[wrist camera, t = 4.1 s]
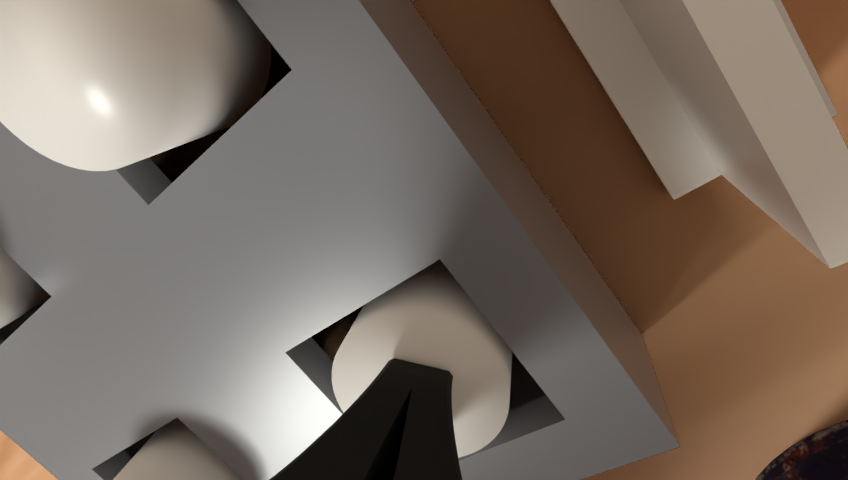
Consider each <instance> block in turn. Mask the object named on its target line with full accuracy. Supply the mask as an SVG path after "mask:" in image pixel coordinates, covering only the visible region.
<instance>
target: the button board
mask: <svg viewBox="0 0 848 480" xmlns="http://www.w3.org/2000/svg"><path fill="white" fill-rule="evenodd" d="M237 1H238V2H239V3H240V4H241V6H242V7H243V8H244V10H245V11H246V12H247V13H248V15H249V16H250V17H251V18H252V20H253V21H254V22H255V24H256V25H257V26H258V27H259V29H260V30H261V31H262V33H263V34H264V35H265V36H266V38H267V39H268V40H269V41H270V43H271V44H272V45H273V47H274V48H275V49H276V50H277V52H278V53H279V54H280V56H281V57H282V58H283V59H284V61H285V62H286V63H287V64H288V66H289V67H290V68H291V71H290V72H289V73H288V74H287V75H286V76H285V77H284V78H283V79H282V80H281V81H280V82H279V83H277V84H276V85H275V86H274V87H273V88H272V89H271V90H270V91H269V92H268V93H267V94H266V95H265V96H264V97H263V98H262V99H260V100H259V101H258V102H257V103H256V104H255V105H254V106H253V107H252V108H251V109H250V110H249V111H248V112H247V113H246V114H245V115H244V116H242V117H241V118H240V119H239V120H238V121H237V122H236V123H235V124H234V125H233V126H232V127H231V128H230V129H229V130H228V131H227V132H226V133H224V134H223V135H222V136H221V137H220V138H219V139H218V140H217V141H216V142H215V143H214V144H213V145H212V146H211V147H210V148H209V149H207V150H206V151H205V152H204V153H203V154H202V155H201V156H200V157H199V158H198V159H197V160H196V161H195V162H194V163H193V164H192V165H191V166H189V167H188V168H187V169H186V170H185V171H184V172H183V173H182V174H181V175H180V176H179V177H178V178H177V179H176V180H175V181H174V182H173V183H172V182H171V181H170V180H169V179H168V178H167V177H166V176H165V175H164V174H163V172H162V171H161V170H160V169H159V168H158V167H157V166H156V165H155V164H154V162H153V161H152V160H151V159H150V158H149V157H148V158H146V159H143V160H141V161H138V162H135V163H133V164H130V165H127V166H124V167H122V168H119V169H114V170H109V171H88V170H80V169H76V168H73V167H69V166H66V165H63V164H61V163H58V162H56V161H53V160H51V159H49V158H47V157H46V156H44V155H42V154H40V153H38V152H37V151H35V150H34V149H32V148H31V147H29V146H28V145H26V144H25V143H24V142H23V141H21V140H20V139H19V138H18V137H16V136H15V135H14V134H13V133H12V132H11V131H10V130H9V129H7V128H6V127H5V126H4V125H3V124H2V123H1V122H0V247H1V248H2V249H3V250H4V251H5V252H6V253H7V254H8V255H9V256H10V257H11V258H12V259H13V260H14V261H15V262H16V263H17V264H18V265H19V266H20V267H21V268H22V269H23V270H25V271H26V272H27V273H28V274H29V275H30V276H31V277H32V278H33V279H34V280H35V281H36V282H37V283H38V284H39V285H40V286H41V287H42V288H43V289H44V290H45V291H46V292H47V293H48V294H49V295H51V296H52V297H51V298H50V299H48V300H47V301H46V302H44V303H42V304H41V305H39V306H37V307H36V308H34V309H32V310H31V311H29V312H27V313H26V314H24V315H22V316H21V317H19V318H17V319H15V320H14V321H12V322H10V323H9V324H7V325H5V326H4V327H2V328H0V430H1V431H2V432H3V433H5V434H6V435H7V436H8V437H9V438H10V439H12V440H13V441H14V442H15V443H16V444H17V445H19V446H20V447H21V448H22V449H23V450H24V451H26V452H27V453H28V454H29V455H30V456H31V457H33V458H34V459H35V460H36V461H37V462H38V463H40V464H41V465H42V466H43V467H44V468H45V469H47V470H48V471H49V472H50V473H51V474H52V475H54V476H55V477H56V478H57V479H58V480H113V479H114V478H115V477H116V476H117V474H118V473H119V472H120V471H121V470H122V469H123V468H124V467H125V466H126V464H127V463H128V462H129V461H130V460H131V459H132V458H133V457H134V456H135V454H136V453H137V452H138V451H139V450H140V449H141V448H142V447H143V445H144V444H145V443H146V442H147V441H148V440H149V439H150V438H151V437H152V435H153V434H154V433H155V432H156V431H157V430H158V429H159V428H161V427H162V426H164V425H166V424H167V423H169V422H171V421H172V420H174V419H176V418H178V419H180V420H181V421H182V422H183V423H184V424H185V425H186V426H187V427H188V428H189V429H190V430H191V431H192V432H193V433H194V434H195V435H196V436H197V437H198V438H199V439H200V440H201V441H202V442H203V443H204V444H206V445H207V446H208V447H209V448H210V449H211V450H212V451H213V452H214V453H215V454H216V455H217V456H218V457H219V458H220V459H221V460H222V461H223V462H224V463H225V464H226V465H227V466H228V467H229V468H230V469H232V470H233V471H234V472H235V473H236V474H237V475H238V476H239V477H240V478H241V479H242V480H269V479H271V478H272V477H273V476H275V475H276V474H277V473H278V472H280V471H281V470H282V469H283V468H284V467H286V466H287V465H288V464H289V463H290V462H292V461H293V460H294V459H295V458H296V457H298V456H299V455H300V454H301V453H302V452H303V451H304V450H305V449H307V448H308V447H309V446H310V445H311V444H312V443H313V442H314V441H315V440H316V439H317V438H318V437H320V436H321V435H322V434H323V433H324V432H325V431H326V430H327V429H328V428H329V427H330V426H331V425H332V424H333V423H334V422H335V421H336V420H337V419H338V418H339V417H340V416H341V415H342V414H343V411H342V409H341V408H340V406H339V404H338V402H337V400H336V397H335V394H334V391H333V386H332V365H333V361H332V360H331V358H330V357H329V356H328V355H327V354H326V353H325V352H324V351H323V350H322V349H321V347H320V346H319V345H318V344H317V343H316V342H315V341H314V340H313V339H312V336H313V335H315V334H317V333H318V332H320V331H322V330H323V329H325V328H327V327H328V326H330V325H332V324H333V323H335V322H336V321H338V320H340V319H341V318H343V317H345V316H346V315H348V314H350V313H351V312H353V311H355V310H356V309H358V308H360V307H361V306H363V305H365V304H366V303H368V302H370V301H371V300H373V299H375V298H376V297H378V296H380V295H381V294H383V293H385V292H386V291H388V290H390V289H391V288H393V287H395V286H396V285H398V284H400V283H401V282H403V281H405V280H406V279H408V278H410V277H411V276H413V275H414V274H416V273H418V272H419V271H421V270H423V269H424V268H426V267H428V266H429V265H431V264H433V263H434V262H436V261H438V260H439V259H440V260H441V261H442V262H443V264H444V265H445V266H446V268H447V269H448V270H449V271H450V273H451V274H452V275H453V276H454V278H455V279H456V280H457V282H458V283H459V284H460V285H461V287H462V288H463V289H464V291H465V292H466V293H467V294H468V296H469V297H470V298H471V299H472V301H473V302H474V303H475V305H476V306H477V307H478V308H479V310H480V311H481V312H482V313H483V315H484V316H485V317H486V319H487V320H488V321H489V322H490V324H491V325H492V326H493V328H494V329H495V330H496V331H497V333H498V334H499V335H500V336H501V338H502V339H503V340H504V342H505V343H506V344H507V345H508V347H509V348H510V349H511V351H512V352H513V353H514V354H515V356H516V357H517V358H518V359H517V360H515V361H513V362H512V369H511V386H510V403H509V411H508V416H507V419H506V421H505V424H504V426H503V427H502V429H501V431H500V432H499V434H498V435H497V436H496V437H495V438H494V439H493V440H492V441H491V442H490V443H489V444H488V445H486V446H485V447H483V448H482V449H480V450H478V451H476V452H474V453H472V454H469V455H466V456H463V457H460V458H458V460H459V465H460V470H461V476H462V480H581V479H584V478H587V477H590V476H593V475H596V474H599V473H602V472H605V471H608V470H611V469H614V468H618V467H621V466H624V465H627V464H630V463H633V462H636V461H639V460H642V459H645V458H648V457H651V456H654V455H657V454H660V453H663V452H667V451H670V450H673V449H676V448H679V447H680V445H679V442H678V439H677V436H676V433H675V430H674V427H673V424H672V421H671V418H670V415H669V412H668V409H667V406H666V404H665V401H664V398H663V395H662V392H661V389H660V386H659V383H658V380H657V377H656V374H655V371H654V368H653V365H652V362H651V359H650V356H649V353H648V350H647V348H646V345H645V342H644V339H643V336H642V334H641V333H640V331H639V330H638V329H637V327H636V326H635V324H634V323H633V321H632V320H631V318H630V317H629V316H628V314H627V313H626V311H625V310H624V308H623V307H622V305H621V304H620V303H619V301H618V300H617V298H616V297H615V295H614V294H613V293H612V291H611V290H610V288H609V287H608V285H607V284H606V282H605V281H604V280H603V278H602V277H601V275H600V274H599V272H598V271H597V269H596V268H595V267H594V265H593V264H592V262H591V261H590V259H589V258H588V256H587V255H586V254H585V252H584V251H583V249H582V248H581V246H580V245H579V243H578V242H577V241H576V239H575V238H574V236H573V235H572V233H571V232H570V230H569V229H568V228H567V226H566V225H565V223H564V222H563V220H562V219H561V217H560V216H559V215H558V213H557V212H556V210H555V209H554V207H553V206H552V204H551V203H550V202H549V200H548V199H547V197H546V196H545V194H544V193H543V191H542V190H541V189H540V187H539V186H538V184H537V183H536V181H535V180H534V178H533V177H532V176H531V174H530V173H529V171H528V170H527V168H526V167H525V166H524V164H523V163H522V161H521V160H520V158H519V157H518V155H517V154H516V153H515V151H514V150H513V148H512V147H511V145H510V144H509V142H508V141H507V140H506V138H505V137H504V135H503V134H502V132H501V131H500V129H499V128H498V127H497V125H496V124H495V122H494V121H493V119H492V118H491V116H490V115H489V114H488V112H487V111H486V109H485V108H484V106H483V105H482V103H481V102H480V101H479V99H478V98H477V96H476V95H475V93H474V92H473V90H472V89H471V88H470V86H469V85H468V83H467V82H466V80H465V79H464V77H463V76H462V75H461V73H460V72H459V70H458V69H457V67H456V66H455V64H454V63H453V62H452V60H451V59H450V57H449V56H448V54H447V53H446V52H445V50H444V49H443V47H442V46H441V44H440V43H439V41H438V40H437V39H436V37H435V36H434V34H433V33H432V31H431V30H430V28H429V27H428V26H427V24H426V23H425V21H424V20H423V18H422V17H421V15H420V14H419V13H418V11H417V10H416V8H415V7H414V5H413V4H412V2H411V1H410V0H237Z"/></svg>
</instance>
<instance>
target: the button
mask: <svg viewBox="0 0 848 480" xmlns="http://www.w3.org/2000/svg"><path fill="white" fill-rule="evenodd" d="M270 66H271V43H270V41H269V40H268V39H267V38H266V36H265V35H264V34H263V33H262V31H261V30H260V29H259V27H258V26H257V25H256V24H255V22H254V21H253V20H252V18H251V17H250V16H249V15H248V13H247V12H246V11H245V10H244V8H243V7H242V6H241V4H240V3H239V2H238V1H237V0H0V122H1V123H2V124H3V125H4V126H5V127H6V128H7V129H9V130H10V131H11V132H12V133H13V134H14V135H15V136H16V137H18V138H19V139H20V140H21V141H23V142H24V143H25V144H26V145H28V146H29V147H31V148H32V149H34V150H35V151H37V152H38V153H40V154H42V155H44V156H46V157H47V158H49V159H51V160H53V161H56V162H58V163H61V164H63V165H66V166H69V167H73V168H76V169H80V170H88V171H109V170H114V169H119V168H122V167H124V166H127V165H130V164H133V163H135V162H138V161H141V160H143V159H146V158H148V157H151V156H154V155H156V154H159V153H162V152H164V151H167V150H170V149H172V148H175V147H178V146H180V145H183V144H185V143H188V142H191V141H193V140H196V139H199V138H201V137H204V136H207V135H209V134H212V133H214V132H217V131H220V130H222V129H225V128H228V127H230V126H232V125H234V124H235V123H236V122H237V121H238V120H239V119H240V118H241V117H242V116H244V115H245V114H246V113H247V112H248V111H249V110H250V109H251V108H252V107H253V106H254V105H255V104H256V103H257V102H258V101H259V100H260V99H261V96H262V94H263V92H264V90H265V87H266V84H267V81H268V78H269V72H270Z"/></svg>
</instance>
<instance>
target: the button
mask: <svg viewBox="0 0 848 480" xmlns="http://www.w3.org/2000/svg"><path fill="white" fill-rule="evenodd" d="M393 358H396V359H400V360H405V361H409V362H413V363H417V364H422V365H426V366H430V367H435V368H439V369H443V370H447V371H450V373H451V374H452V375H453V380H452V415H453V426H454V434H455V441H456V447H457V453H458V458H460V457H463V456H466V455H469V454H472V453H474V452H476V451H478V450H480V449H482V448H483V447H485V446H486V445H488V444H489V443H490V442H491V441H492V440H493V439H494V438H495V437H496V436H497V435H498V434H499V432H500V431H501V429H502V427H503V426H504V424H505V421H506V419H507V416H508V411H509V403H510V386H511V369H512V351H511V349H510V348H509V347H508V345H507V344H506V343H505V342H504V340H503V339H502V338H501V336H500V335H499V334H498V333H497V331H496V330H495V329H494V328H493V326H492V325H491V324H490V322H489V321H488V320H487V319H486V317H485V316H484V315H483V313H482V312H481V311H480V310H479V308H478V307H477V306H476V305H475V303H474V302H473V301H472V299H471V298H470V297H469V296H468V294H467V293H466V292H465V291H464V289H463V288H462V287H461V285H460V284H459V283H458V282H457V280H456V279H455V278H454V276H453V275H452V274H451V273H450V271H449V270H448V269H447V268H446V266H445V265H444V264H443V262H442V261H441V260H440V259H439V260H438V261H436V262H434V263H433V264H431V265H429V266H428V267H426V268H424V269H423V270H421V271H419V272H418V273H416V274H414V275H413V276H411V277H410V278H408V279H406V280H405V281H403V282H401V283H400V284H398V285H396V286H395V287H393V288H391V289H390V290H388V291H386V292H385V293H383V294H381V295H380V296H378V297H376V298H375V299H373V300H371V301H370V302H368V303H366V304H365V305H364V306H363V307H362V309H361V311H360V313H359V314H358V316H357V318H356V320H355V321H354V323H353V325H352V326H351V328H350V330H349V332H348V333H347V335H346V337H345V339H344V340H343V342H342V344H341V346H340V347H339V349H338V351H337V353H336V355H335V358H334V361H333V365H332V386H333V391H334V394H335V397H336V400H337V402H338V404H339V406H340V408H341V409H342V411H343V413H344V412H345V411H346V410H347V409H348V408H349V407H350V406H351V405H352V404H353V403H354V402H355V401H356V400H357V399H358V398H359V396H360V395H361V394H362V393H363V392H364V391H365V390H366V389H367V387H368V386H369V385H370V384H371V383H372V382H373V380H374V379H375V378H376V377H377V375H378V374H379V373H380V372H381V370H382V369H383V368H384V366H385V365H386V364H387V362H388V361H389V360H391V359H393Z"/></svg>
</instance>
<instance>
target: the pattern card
mask: <svg viewBox="0 0 848 480" xmlns="http://www.w3.org/2000/svg"><path fill="white" fill-rule="evenodd" d="M549 1H550V3H551V4H552V6H553V8H554V9H555V11H556V12H557V14H558V16H559V17H560V19H561V21H562V22H563V24H564V25H565V27H566V29H567V30H568V32H569V33H570V35H571V37H572V38H573V40H574V41H575V43H576V45H577V46H578V48H579V50H580V51H581V53H582V54H583V56H584V58H585V59H586V61H587V62H588V64H589V66H590V67H591V69H592V70H593V72H594V74H595V75H596V77H597V79H598V80H599V82H600V83H601V85H602V87H603V88H604V90H605V91H606V93H607V95H608V96H609V98H610V99H611V101H612V103H613V104H614V106H615V108H616V109H617V111H618V112H619V114H620V116H621V117H622V119H623V120H624V122H625V124H626V125H627V127H628V128H629V130H630V132H631V133H632V135H633V137H634V138H635V140H636V141H637V143H638V145H639V146H640V148H641V149H642V151H643V153H644V154H645V156H646V158H647V159H648V161H649V162H650V164H651V166H652V167H653V169H654V170H655V172H656V174H657V175H658V177H659V178H660V180H661V182H662V183H663V185H664V187H665V188H666V190H667V191H668V193H669V194H670V195H671V197H672V198H673V199H674V200H675V199H677V198H679V197H681V196H683V195H685V194H687V193H689V192H690V191H692V190H694V189H696V188H698V187H700V186H702V185H704V184H705V183H707V182H709V181H711V180H713V179H715V178H717V177H719V176H720V175H722V176H723V177H724V178H725V179H727V180H728V181H729V182H730V183H731V184H732V185H734V186H735V187H736V188H737V189H738V190H739V191H740V192H742V193H743V194H744V195H745V196H746V197H747V198H749V199H750V200H751V201H752V202H753V203H754V204H756V205H757V206H758V207H759V208H760V209H761V210H762V211H764V212H765V213H766V214H767V215H768V216H769V217H771V218H772V219H773V220H774V221H775V222H776V223H778V224H779V225H780V226H781V227H782V228H783V229H784V230H786V231H787V232H788V233H789V234H790V235H791V236H793V237H794V238H795V239H796V240H797V241H798V242H800V243H801V244H802V245H803V246H804V247H805V248H806V249H808V250H809V251H810V252H811V253H812V254H813V255H815V256H816V257H817V258H818V259H819V260H820V261H822V262H823V263H824V264H825V265H826V266H827V267H828V268H830V269H832V268H835V267H837V266H840V265H842V264H844V263H847V262H848V148H847V146H846V144H845V142H844V140H843V138H842V136H841V134H840V133H839V131H838V129H837V127H836V125H835V123H834V121H833V119H832V117H834V116H836V115H838V113H837V111H836V109H835V107H834V105H833V103H832V101H831V99H830V97H829V95H828V93H827V91H826V89H825V87H824V85H823V83H822V81H821V79H820V77H819V75H818V73H817V71H816V69H815V67H814V65H813V63H812V61H811V59H810V57H809V55H808V53H807V51H806V49H805V47H804V45H803V43H802V41H801V39H800V37H799V35H798V33H797V31H796V29H795V27H794V25H793V23H792V21H791V19H790V17H789V15H788V13H787V11H786V9H785V7H784V5H783V3H782V1H781V0H549Z"/></svg>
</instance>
